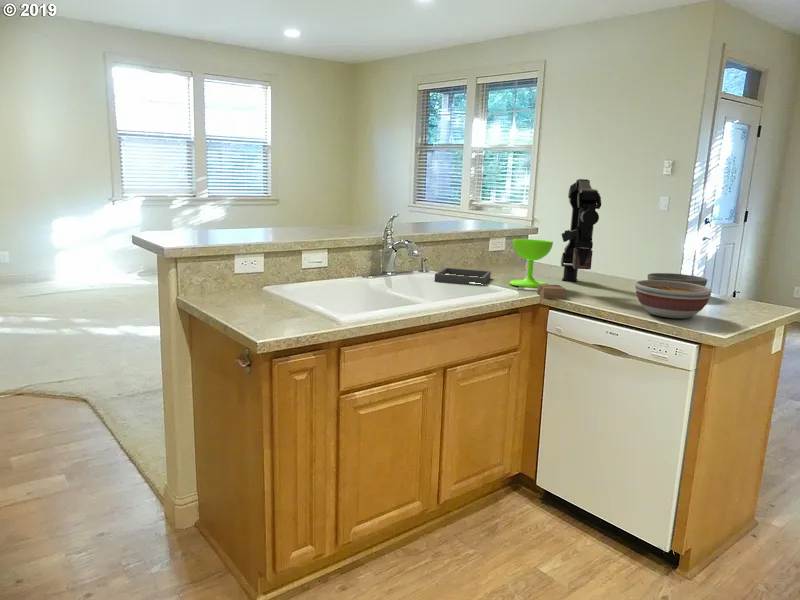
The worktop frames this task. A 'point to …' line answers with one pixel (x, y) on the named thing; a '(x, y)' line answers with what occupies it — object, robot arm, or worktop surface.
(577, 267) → the box
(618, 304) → the worktop surface
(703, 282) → the bowl
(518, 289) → the gray flat panel
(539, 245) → the wineglass
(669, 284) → the bowl
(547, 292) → the base block
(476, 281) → the glass rack frame
